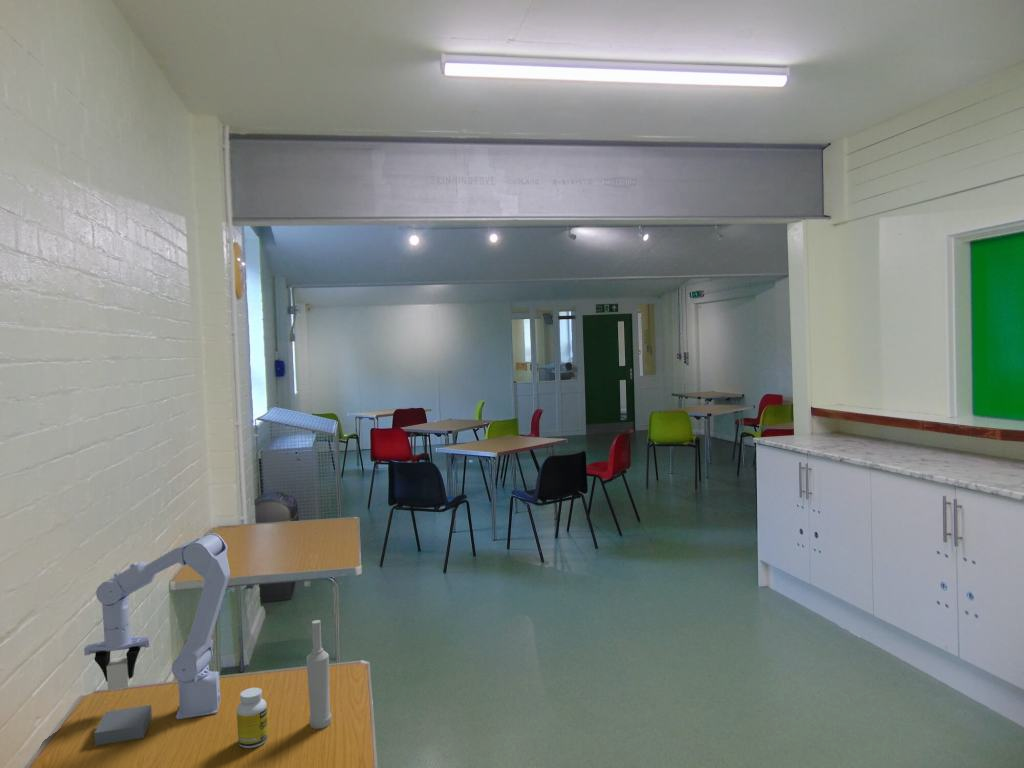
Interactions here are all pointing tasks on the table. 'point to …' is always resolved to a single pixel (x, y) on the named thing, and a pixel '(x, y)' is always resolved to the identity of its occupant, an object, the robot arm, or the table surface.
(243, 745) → the pill bottle
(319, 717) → the bottle
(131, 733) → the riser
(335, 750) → the table surface
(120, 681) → the cream block
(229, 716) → the table surface
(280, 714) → the table surface
